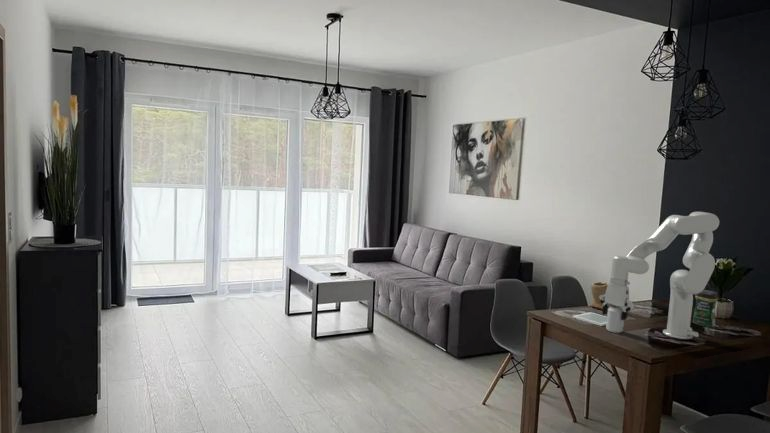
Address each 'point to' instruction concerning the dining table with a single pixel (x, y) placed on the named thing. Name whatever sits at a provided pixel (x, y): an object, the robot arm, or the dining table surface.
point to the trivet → (592, 318)
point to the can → (615, 319)
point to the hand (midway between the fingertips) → (614, 316)
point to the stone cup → (598, 294)
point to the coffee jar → (705, 308)
